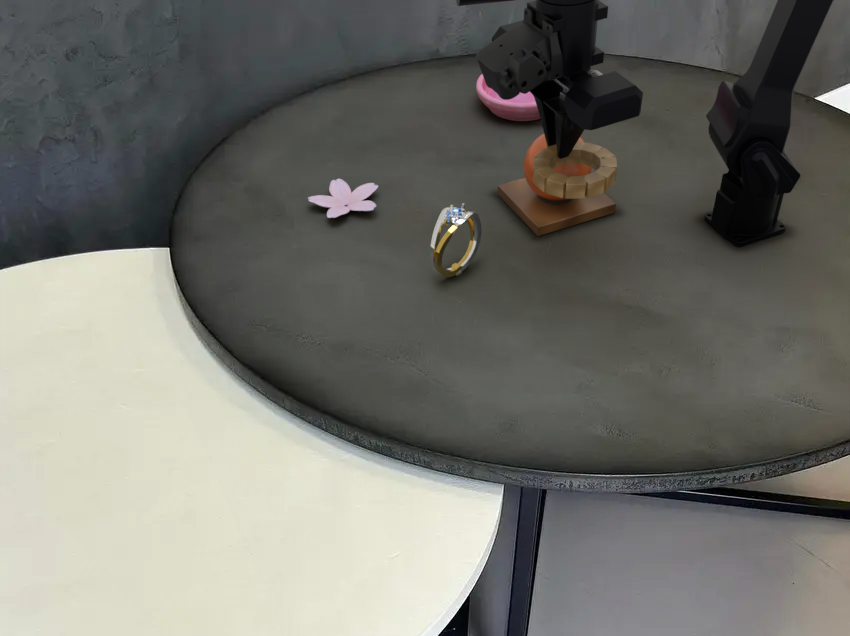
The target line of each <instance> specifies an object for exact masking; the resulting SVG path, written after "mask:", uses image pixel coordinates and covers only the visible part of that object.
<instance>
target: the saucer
mask: <svg viewBox="0 0 850 636" xmlns="http://www.w3.org/2000/svg"><path fill="white" fill-rule="evenodd" d="M476 95H477V96H478V98H479V99H480V101H481V102H482V104H483V105H484V106H486V107H487V108H488V109H489V111H490V112H491V113H492V114H494V115H495V116H496V117H499V118H500V119H501V118H502V119H505V120H508V121H515V122H528V121H530V122H531V121H537V120H541V119H540V115H539V112H538V108H537V105H536V102H535V98H534V96H533V95H532V93H530V92H528V93H526V94H524V93H521V92H520V93H519V95H517V96H516V97H514V98H512V99H509V100H504V99H502V98H500V97H499V95H498V94H497V93H496V92H495V91H494V90H492V89H491V88H489V87H488V86H487V85H486V83H485V80H484V77H483V74H482V73H481V74H480V75H479V76H478V78H477V80H476Z"/></svg>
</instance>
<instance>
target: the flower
mask: <svg viewBox="0 0 850 636" xmlns="http://www.w3.org/2000/svg"><path fill="white" fill-rule="evenodd" d="M350 187H351V186H349V184H348V183H347V182H346V181H345V180H343V179H342V178H339V177H338V178H337V179H331V181H330V183H329V188H328V190H329V194H330V195H325V194H317V195H311V196H307V199H308V202H310V203H313V204H315V205H317V206H319V207H322V208H328V210H327V212H326V217H327V218H328V219H332V218H333V219H335V218H338V217H340V216H343V215H346V214H349V212H350V211H355V212H356V211H357V212H362V211H363V212H371V211H374V209H375V208H377V204H376V203H375V202H374V201H373V200H367V198H369V197H370V196H371V195H372V194H373V193H374V192H375V191H376V190H378V188H379V185H378V184H375V182H367V183H364V184H361V185H359V186H357V187H356V188H355V189H354V190H352V189H351V188H350ZM365 199H366V200H365Z"/></svg>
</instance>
